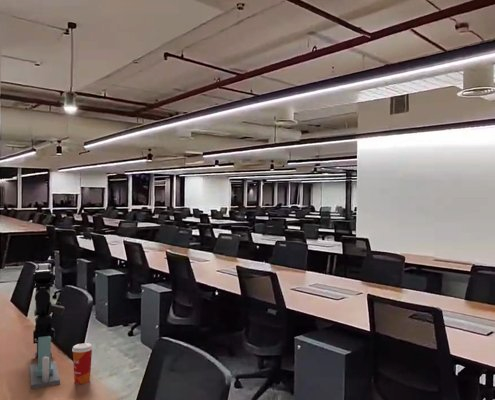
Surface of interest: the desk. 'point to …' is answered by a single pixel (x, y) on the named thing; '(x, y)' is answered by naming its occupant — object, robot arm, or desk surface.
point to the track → (39, 379)
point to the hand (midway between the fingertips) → (42, 335)
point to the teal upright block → (44, 354)
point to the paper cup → (82, 362)
